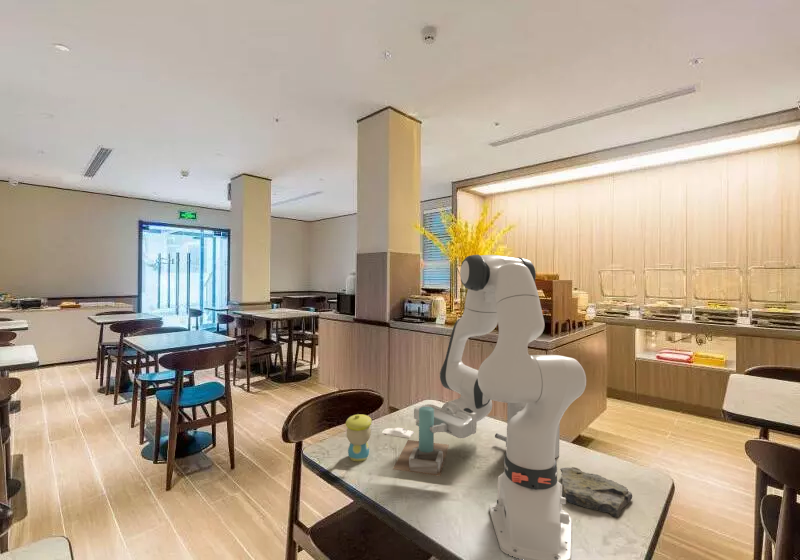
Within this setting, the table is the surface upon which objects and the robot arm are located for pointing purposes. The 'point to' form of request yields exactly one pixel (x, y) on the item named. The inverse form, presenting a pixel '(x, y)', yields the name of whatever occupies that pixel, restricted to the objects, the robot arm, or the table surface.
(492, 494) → the table surface
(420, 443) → the teal peg
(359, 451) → the toy
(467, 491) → the table surface
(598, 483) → the stone
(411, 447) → the walnut board
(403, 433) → the toy car
